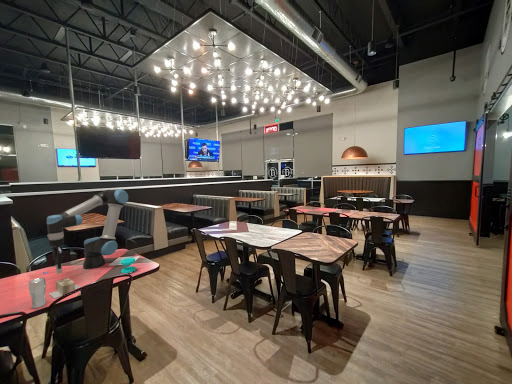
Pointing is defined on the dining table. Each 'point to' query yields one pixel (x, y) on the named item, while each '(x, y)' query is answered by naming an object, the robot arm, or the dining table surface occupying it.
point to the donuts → (130, 268)
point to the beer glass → (37, 292)
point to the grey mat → (57, 294)
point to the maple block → (65, 286)
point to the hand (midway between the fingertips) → (59, 273)
